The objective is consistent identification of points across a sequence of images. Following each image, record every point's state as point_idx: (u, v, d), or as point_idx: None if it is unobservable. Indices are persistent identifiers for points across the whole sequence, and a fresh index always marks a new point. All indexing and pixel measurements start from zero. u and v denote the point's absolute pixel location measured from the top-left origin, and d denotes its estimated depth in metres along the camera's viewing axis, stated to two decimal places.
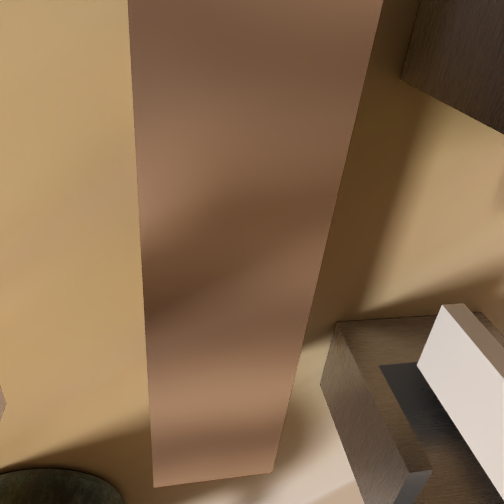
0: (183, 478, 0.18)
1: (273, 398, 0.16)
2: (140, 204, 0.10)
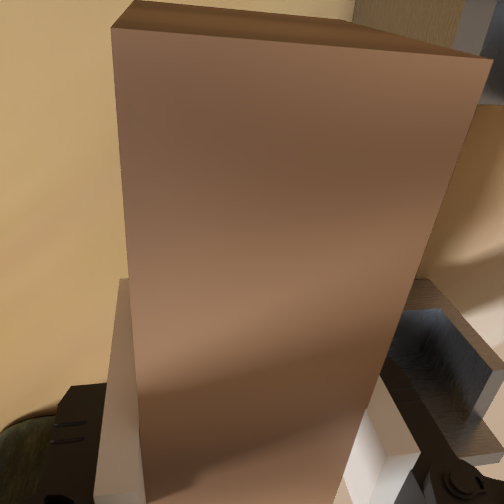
0: None
1: None
2: (136, 346, 0.07)
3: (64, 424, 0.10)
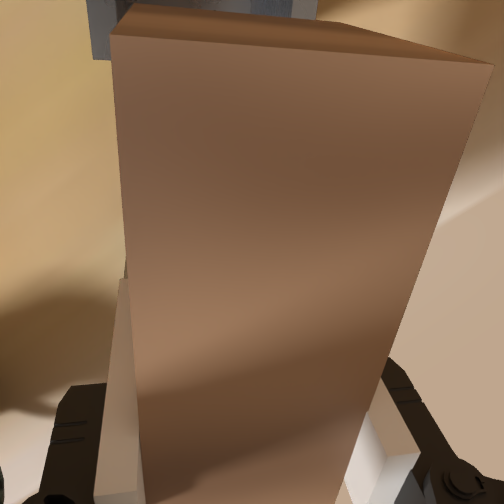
0: None
1: None
2: (135, 352, 0.07)
3: (64, 424, 0.10)
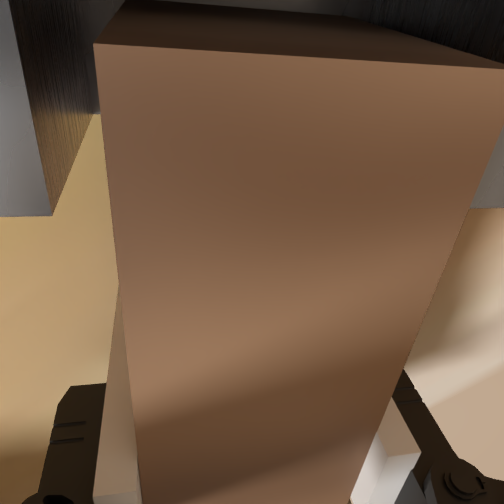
0: None
1: None
2: (132, 378, 0.07)
3: (63, 424, 0.10)
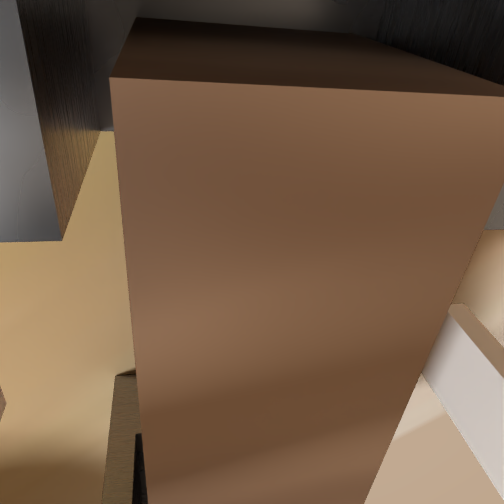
0: None
1: None
2: (141, 402, 0.07)
3: None
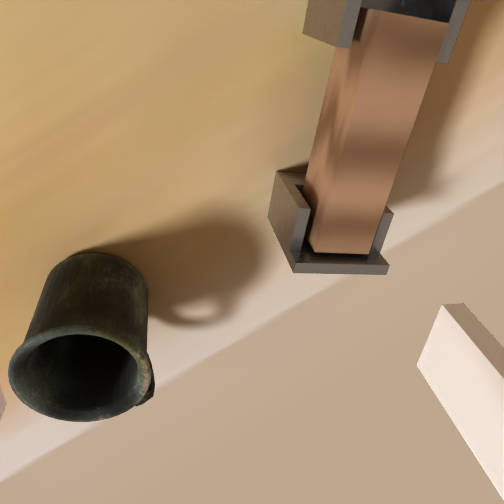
0: (329, 248, 0.36)
1: (380, 200, 0.35)
2: (359, 92, 0.29)
3: None
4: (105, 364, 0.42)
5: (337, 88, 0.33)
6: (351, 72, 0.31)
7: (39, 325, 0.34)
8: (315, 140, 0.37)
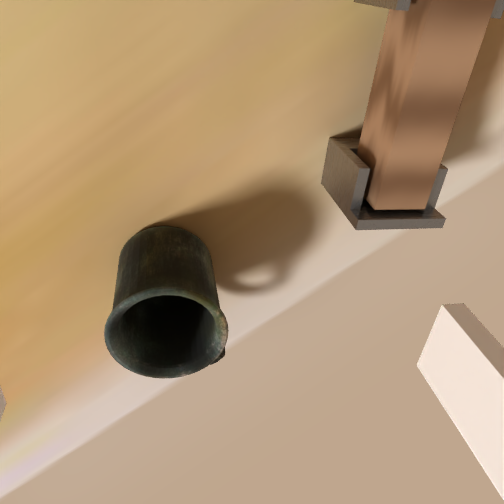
0: (388, 205, 0.39)
1: (436, 155, 0.37)
2: (418, 51, 0.31)
3: None
4: (179, 328, 0.46)
5: (392, 50, 0.35)
6: (407, 33, 0.33)
7: (128, 290, 0.38)
8: (369, 104, 0.39)
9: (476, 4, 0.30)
